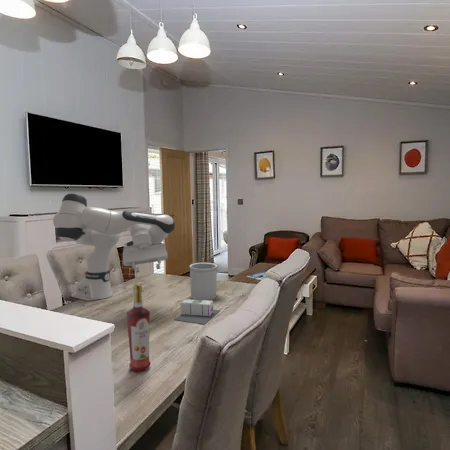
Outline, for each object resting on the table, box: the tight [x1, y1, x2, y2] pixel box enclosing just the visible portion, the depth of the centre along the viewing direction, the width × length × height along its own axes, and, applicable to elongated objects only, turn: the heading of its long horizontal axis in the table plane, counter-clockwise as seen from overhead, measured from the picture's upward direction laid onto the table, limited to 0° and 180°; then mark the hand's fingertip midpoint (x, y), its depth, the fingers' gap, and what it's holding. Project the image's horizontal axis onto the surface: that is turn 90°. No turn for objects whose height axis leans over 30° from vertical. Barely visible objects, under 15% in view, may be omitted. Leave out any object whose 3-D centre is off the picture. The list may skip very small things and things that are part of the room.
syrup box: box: [179, 298, 214, 316], centre depth 165 cm, size 6×6×14 cm
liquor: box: [126, 283, 152, 372], centre depth 114 cm, size 7×7×28 cm
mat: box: [173, 309, 221, 326], centre depth 163 cm, size 15×18×1 cm
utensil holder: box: [189, 262, 218, 301], centre depth 190 cm, size 15×15×18 cm
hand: (148, 270), depth 158 cm, fingers open, 8 cm apart
